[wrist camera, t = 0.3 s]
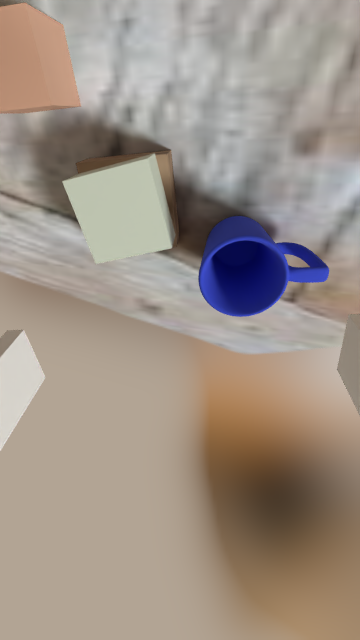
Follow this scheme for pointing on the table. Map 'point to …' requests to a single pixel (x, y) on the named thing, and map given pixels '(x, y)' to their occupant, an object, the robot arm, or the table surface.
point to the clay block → (34, 62)
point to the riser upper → (122, 209)
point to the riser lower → (164, 168)
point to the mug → (251, 267)
